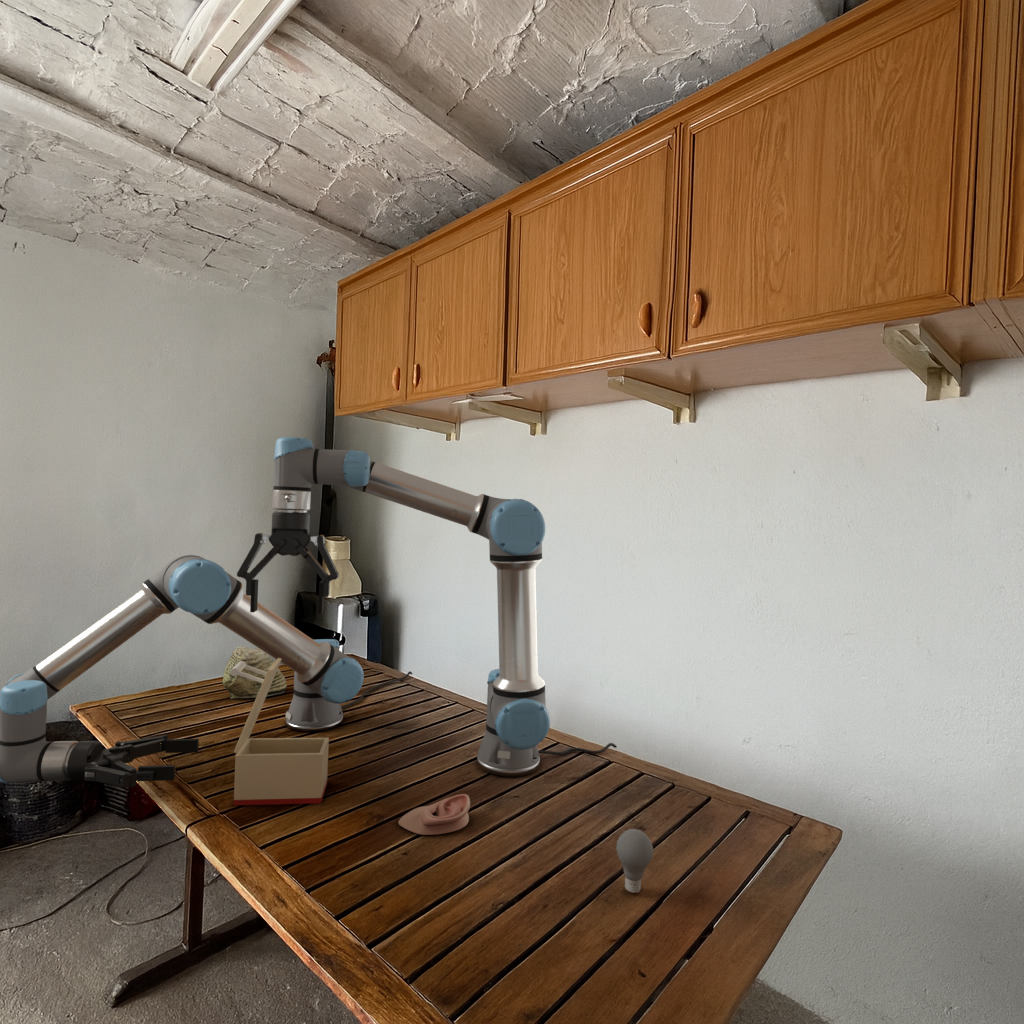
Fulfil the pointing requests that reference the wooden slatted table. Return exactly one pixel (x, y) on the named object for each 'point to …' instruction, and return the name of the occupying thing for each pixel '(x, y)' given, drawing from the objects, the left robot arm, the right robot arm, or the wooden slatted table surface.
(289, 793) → the chest
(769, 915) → the wooden slatted table surface
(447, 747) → the wooden slatted table surface
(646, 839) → the light bulb
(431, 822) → the anatomical model
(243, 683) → the fossil
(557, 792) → the wooden slatted table surface
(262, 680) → the lid
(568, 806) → the wooden slatted table surface
